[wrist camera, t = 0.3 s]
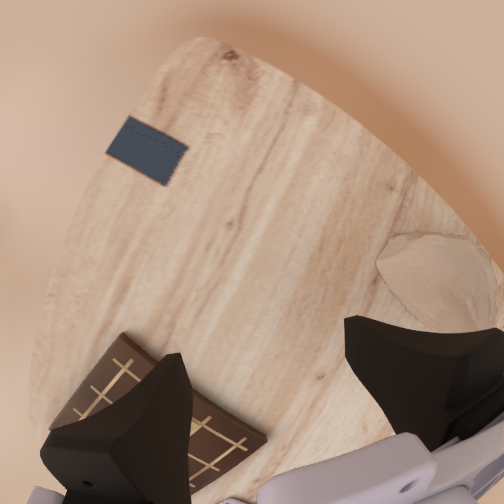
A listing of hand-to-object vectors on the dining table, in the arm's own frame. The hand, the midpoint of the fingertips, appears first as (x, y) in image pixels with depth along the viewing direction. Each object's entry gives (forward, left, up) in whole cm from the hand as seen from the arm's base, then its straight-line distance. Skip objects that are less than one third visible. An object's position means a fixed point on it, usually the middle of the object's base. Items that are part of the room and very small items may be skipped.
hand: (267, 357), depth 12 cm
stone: (+12, -11, -10) cm, 19 cm away
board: (-16, -3, -10) cm, 20 cm away
